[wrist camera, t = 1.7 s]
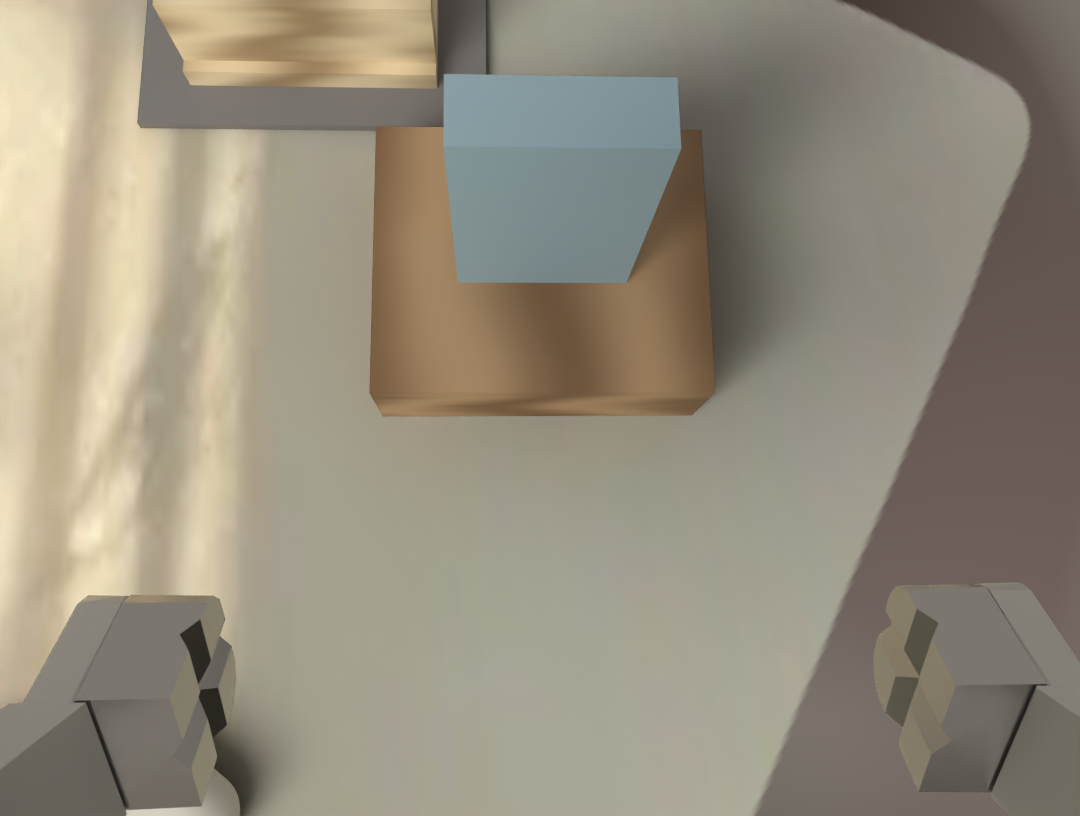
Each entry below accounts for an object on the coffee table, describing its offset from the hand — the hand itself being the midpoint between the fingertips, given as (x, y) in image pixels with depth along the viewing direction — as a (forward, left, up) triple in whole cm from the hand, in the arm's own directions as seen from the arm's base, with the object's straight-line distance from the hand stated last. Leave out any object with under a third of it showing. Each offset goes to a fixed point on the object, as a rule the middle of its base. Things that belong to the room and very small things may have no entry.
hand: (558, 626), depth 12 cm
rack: (-8, +25, -24) cm, 35 cm away
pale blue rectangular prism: (+1, +13, -20) cm, 24 cm away
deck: (+1, +13, -24) cm, 27 cm away
